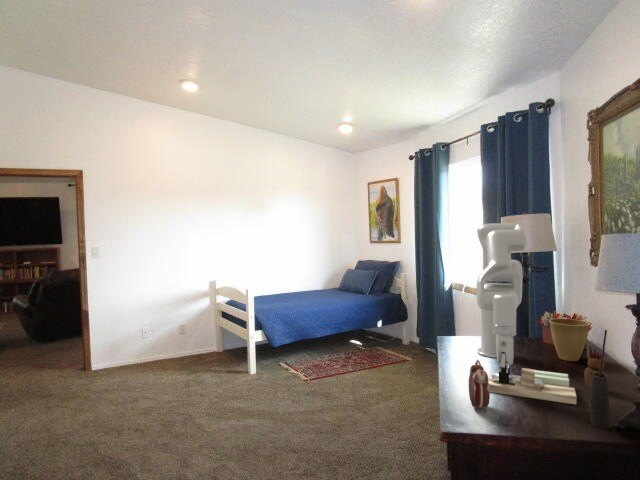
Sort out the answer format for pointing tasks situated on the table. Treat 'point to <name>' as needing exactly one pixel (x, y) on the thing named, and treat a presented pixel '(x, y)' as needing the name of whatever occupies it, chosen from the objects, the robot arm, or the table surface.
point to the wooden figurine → (593, 366)
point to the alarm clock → (479, 386)
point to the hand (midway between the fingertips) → (504, 380)
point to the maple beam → (534, 389)
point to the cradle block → (553, 378)
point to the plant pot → (569, 337)
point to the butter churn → (599, 397)
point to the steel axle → (515, 379)
